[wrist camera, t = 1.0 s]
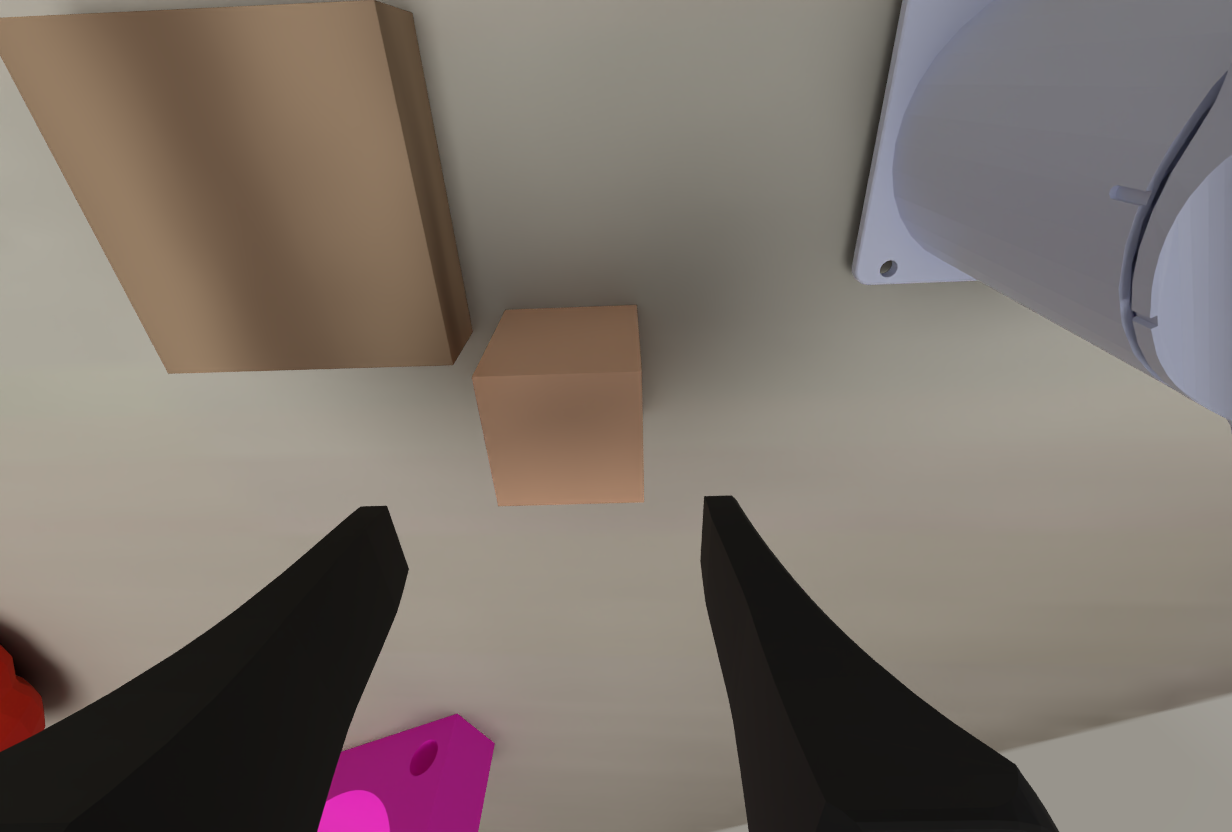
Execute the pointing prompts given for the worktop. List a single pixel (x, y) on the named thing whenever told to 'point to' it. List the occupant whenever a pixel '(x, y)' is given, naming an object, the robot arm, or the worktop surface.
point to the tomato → (17, 705)
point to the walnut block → (256, 179)
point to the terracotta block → (563, 406)
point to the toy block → (412, 781)
